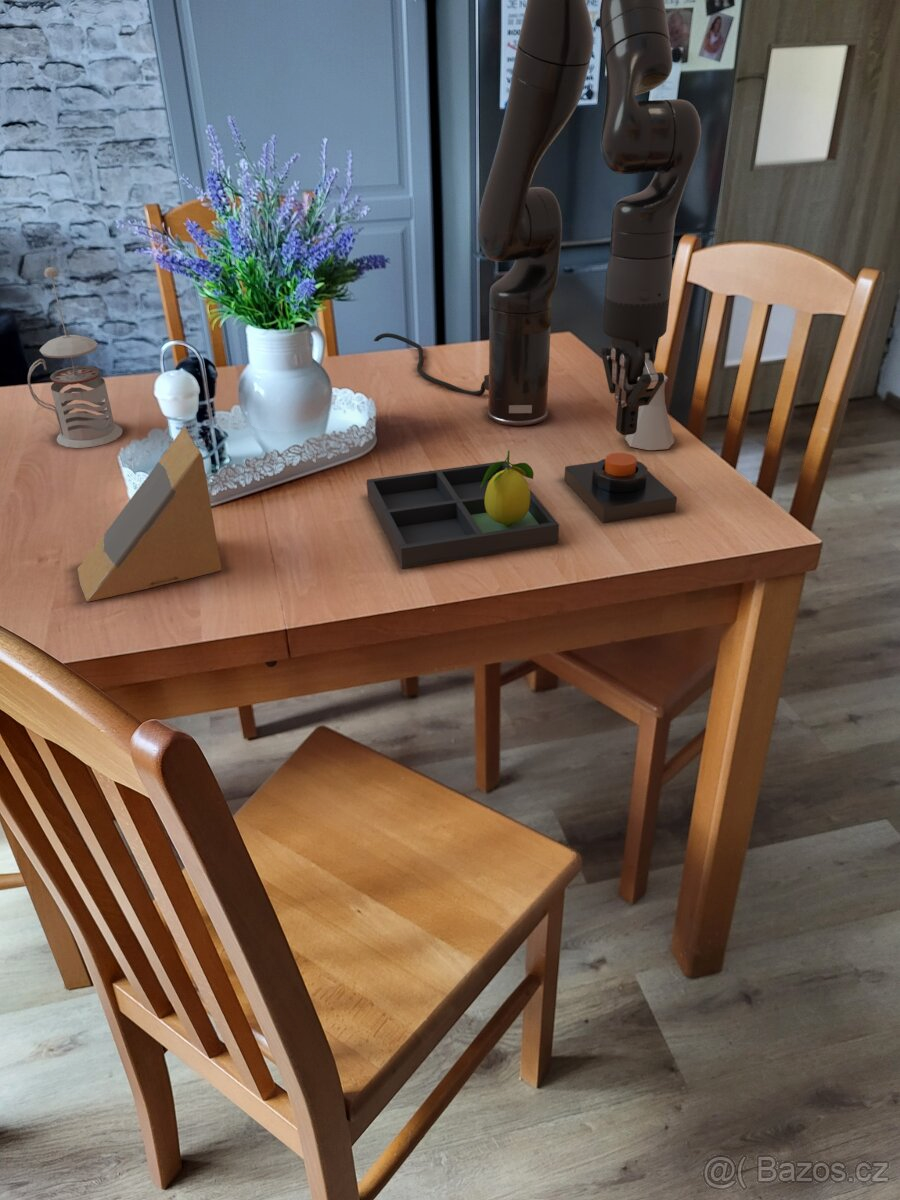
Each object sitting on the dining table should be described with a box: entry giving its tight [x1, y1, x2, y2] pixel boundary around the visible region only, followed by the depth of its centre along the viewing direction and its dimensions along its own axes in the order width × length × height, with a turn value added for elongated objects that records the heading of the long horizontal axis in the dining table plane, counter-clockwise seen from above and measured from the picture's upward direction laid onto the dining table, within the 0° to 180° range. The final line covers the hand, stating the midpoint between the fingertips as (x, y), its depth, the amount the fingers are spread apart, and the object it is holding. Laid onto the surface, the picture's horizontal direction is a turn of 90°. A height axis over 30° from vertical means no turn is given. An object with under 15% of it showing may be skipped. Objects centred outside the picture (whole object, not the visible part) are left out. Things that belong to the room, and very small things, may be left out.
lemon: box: [480, 450, 534, 527], centre depth 113 cm, size 7×6×10 cm
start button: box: [604, 452, 638, 476], centre depth 121 cm, size 4×4×2 cm
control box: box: [563, 458, 678, 524], centre depth 122 cm, size 13×10×4 cm
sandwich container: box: [77, 426, 223, 603], centre depth 105 cm, size 9×15×15 cm, turn 116°
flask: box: [624, 374, 675, 451], centre depth 136 cm, size 7×7×10 cm
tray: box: [366, 460, 560, 570], centre depth 118 cm, size 19×19×3 cm
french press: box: [27, 266, 124, 449], centre depth 137 cm, size 10×12×25 cm
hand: (625, 432), depth 119 cm, fingers closed
